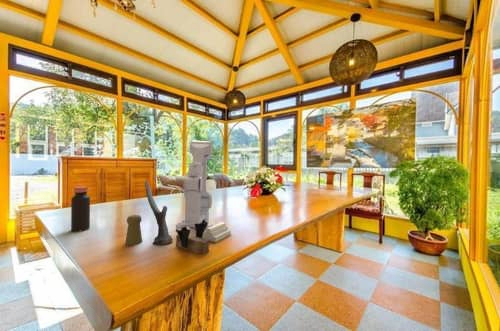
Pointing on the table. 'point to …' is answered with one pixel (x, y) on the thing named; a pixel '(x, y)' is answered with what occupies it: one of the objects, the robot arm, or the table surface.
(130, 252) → the table surface
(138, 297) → the table surface
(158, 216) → the antler
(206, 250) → the walnut beam
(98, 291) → the table surface
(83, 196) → the bottle
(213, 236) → the ridge stand
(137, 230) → the cork
